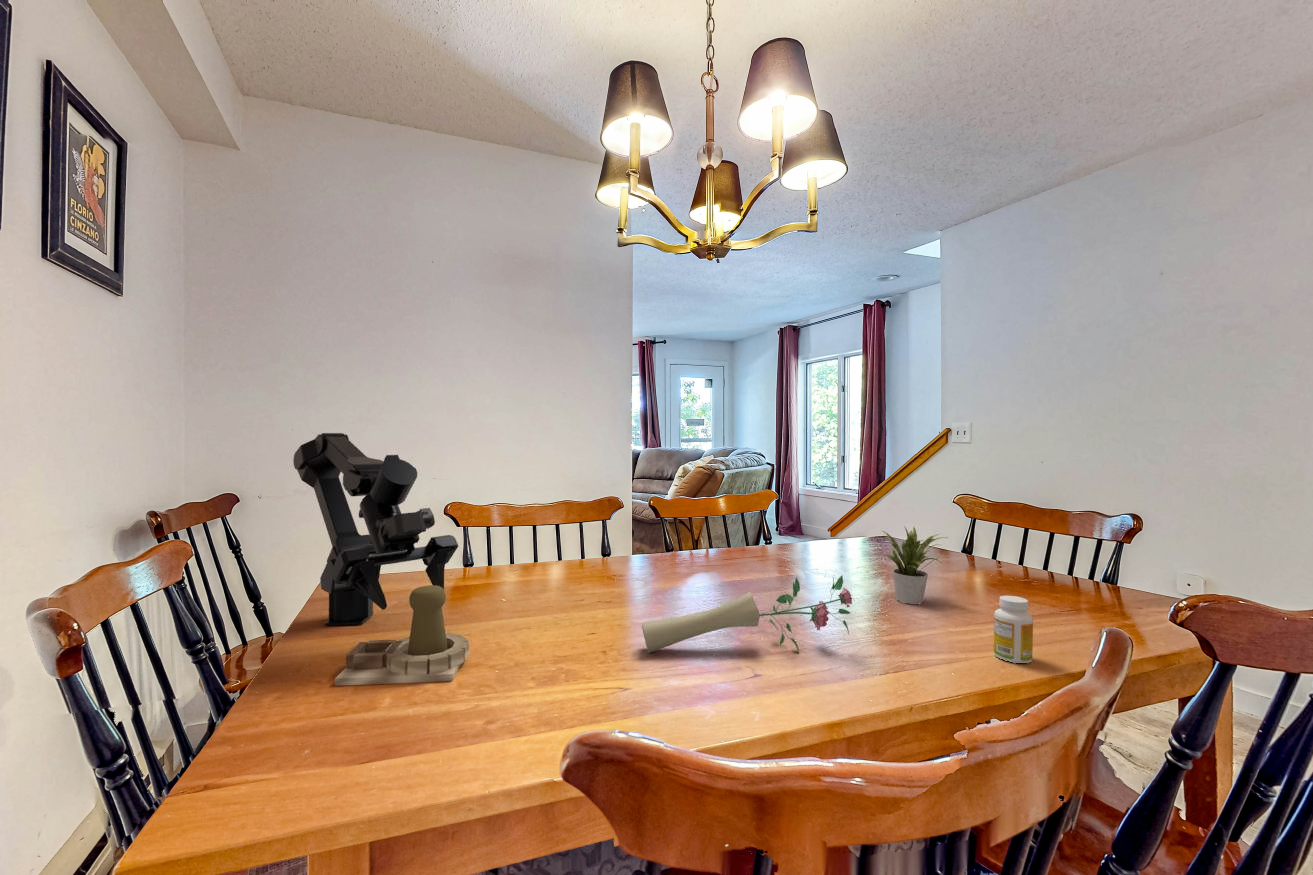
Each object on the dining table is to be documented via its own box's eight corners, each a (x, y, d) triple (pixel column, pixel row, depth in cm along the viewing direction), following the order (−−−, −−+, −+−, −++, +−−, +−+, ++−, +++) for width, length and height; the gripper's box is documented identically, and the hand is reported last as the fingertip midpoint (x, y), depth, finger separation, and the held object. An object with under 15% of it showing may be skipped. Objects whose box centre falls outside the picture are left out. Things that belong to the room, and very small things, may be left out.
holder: (334, 685, 82) (334, 664, 82) (366, 652, 94) (366, 634, 94) (458, 680, 84) (458, 659, 84) (474, 649, 96) (474, 631, 96)
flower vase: (655, 687, 99) (844, 634, 104) (660, 698, 87) (874, 637, 92) (638, 617, 102) (823, 568, 107) (642, 618, 91) (849, 564, 95)
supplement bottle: (1027, 654, 96) (1028, 595, 96) (1036, 666, 91) (1037, 605, 91) (990, 649, 98) (991, 592, 98) (997, 661, 93) (998, 601, 93)
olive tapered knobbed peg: (420, 669, 85) (420, 594, 85) (398, 659, 89) (398, 587, 88) (456, 656, 90) (456, 585, 90) (434, 648, 93) (434, 579, 93)
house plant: (964, 613, 117) (965, 533, 117) (895, 612, 117) (896, 532, 117) (931, 593, 132) (933, 521, 131) (870, 592, 132) (871, 521, 132)
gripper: (339, 497, 88) (368, 584, 81) (453, 488, 102) (487, 562, 95) (320, 540, 94) (346, 626, 86) (431, 527, 107) (461, 599, 100)
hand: (414, 601), depth 92 cm, fingers open, 9 cm apart
